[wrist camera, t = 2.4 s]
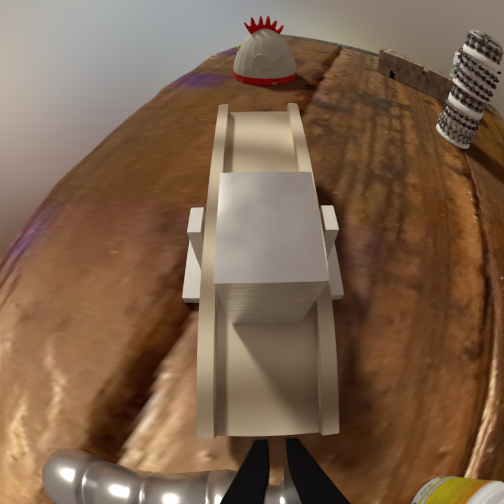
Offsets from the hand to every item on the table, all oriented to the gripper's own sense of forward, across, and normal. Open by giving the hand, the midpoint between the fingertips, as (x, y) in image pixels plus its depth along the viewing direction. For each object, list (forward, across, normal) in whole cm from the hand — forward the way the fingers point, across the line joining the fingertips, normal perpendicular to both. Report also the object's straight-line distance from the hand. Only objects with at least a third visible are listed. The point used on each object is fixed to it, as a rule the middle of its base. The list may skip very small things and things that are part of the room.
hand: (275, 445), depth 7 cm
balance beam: (+19, 0, -2) cm, 19 cm away
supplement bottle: (+2, -15, +17) cm, 23 cm away
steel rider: (+12, 0, -1) cm, 12 cm away
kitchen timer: (+54, -2, -35) cm, 65 cm away
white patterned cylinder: (+40, -40, -21) cm, 61 cm away
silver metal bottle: (+2, +17, +12) cm, 21 cm away
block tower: (+59, -48, -40) cm, 85 cm away
